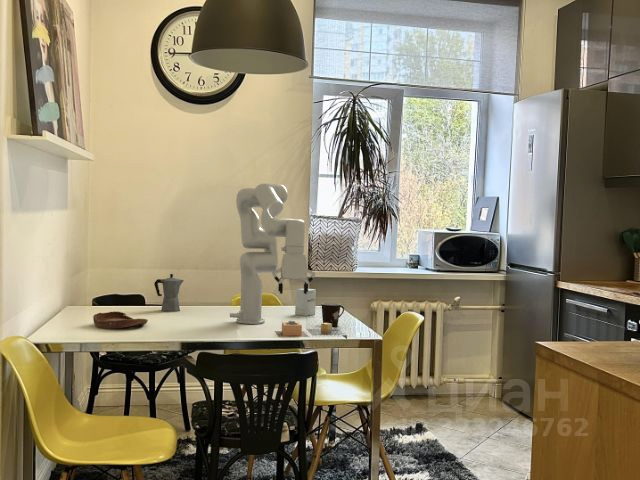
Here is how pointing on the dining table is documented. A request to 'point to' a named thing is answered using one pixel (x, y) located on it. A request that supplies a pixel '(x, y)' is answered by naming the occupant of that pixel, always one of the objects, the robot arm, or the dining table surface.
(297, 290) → the supplement box
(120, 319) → the brown wooden bowl
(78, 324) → the dining table surface
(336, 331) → the base plate
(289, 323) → the stand
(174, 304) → the coffeepot
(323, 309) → the coffee mug
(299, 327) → the collar
